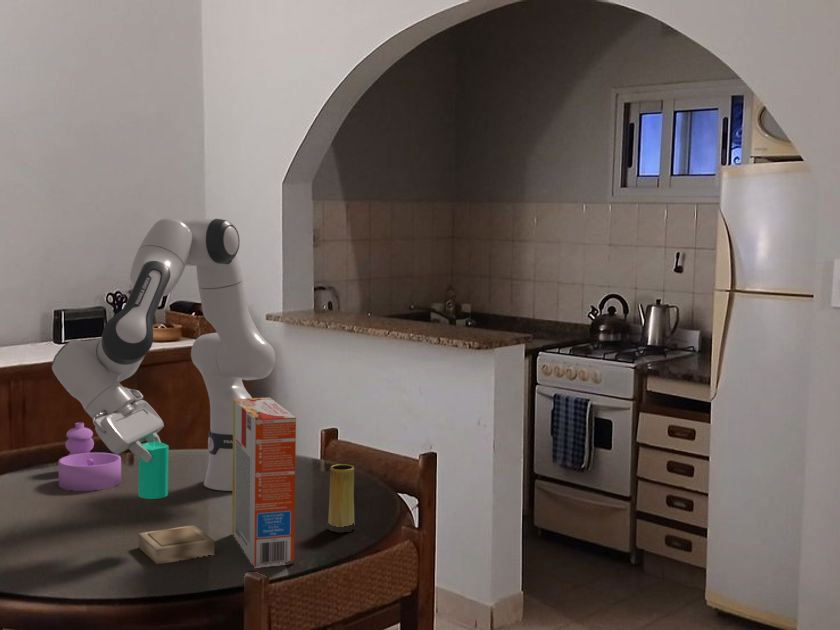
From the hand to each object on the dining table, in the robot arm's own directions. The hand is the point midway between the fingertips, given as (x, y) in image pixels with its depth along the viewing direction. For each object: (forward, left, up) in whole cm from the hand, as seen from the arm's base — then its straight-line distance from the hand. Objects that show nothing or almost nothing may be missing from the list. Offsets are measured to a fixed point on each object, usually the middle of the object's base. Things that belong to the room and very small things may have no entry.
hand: (156, 456), depth 210 cm
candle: (+1, -1, -8) cm, 8 cm away
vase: (-40, +7, -20) cm, 45 cm away
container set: (-1, -62, -20) cm, 65 cm away
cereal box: (-19, +11, -20) cm, 29 cm away
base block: (-3, +4, -19) cm, 20 cm away
